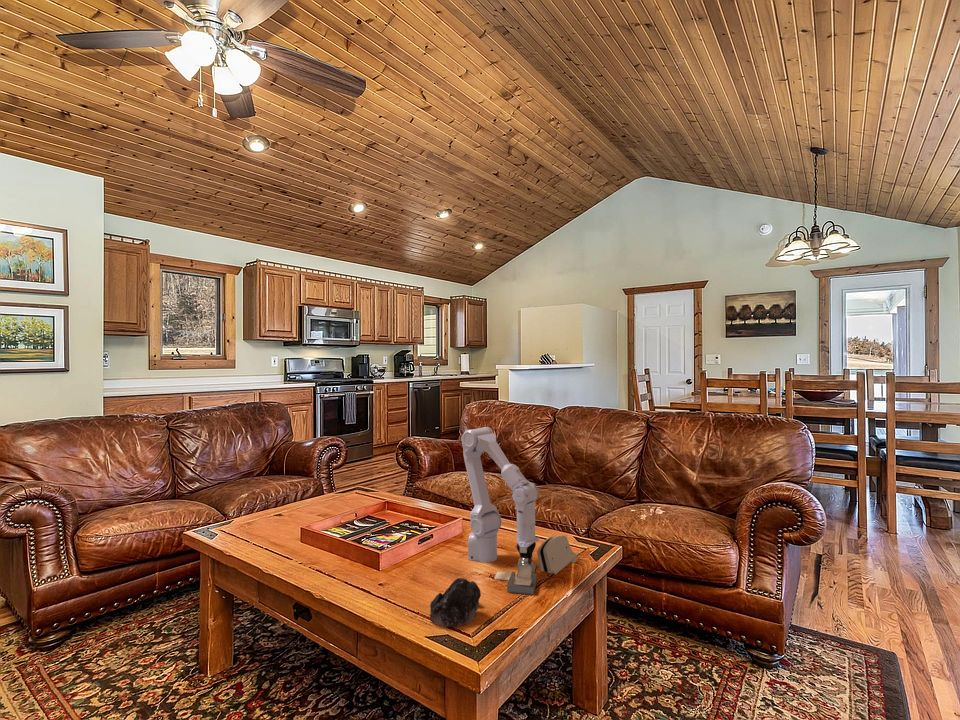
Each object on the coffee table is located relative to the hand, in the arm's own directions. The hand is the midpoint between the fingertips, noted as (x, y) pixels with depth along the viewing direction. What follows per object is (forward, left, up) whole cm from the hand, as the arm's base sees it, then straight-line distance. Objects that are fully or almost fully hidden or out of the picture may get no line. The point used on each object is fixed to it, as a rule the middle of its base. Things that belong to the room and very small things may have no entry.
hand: (526, 567), depth 152 cm
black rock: (-16, -27, -3) cm, 31 cm away
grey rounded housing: (+9, +9, -3) cm, 13 cm away
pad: (-7, -4, -3) cm, 8 cm away
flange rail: (0, -4, -3) cm, 4 cm away
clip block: (0, -3, -1) cm, 3 cm away
